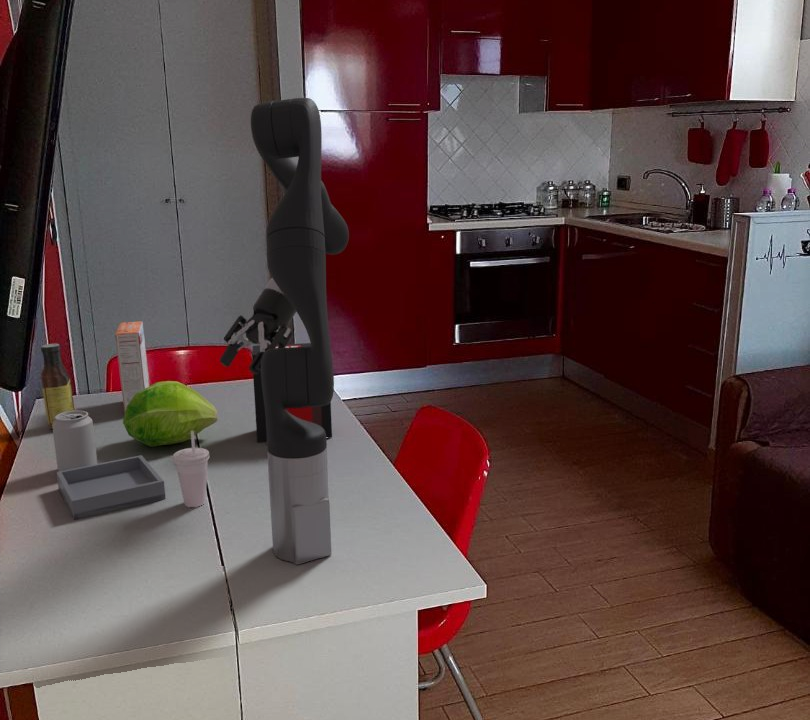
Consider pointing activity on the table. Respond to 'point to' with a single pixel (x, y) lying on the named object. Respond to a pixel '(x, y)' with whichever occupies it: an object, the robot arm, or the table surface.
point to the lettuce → (167, 414)
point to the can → (74, 440)
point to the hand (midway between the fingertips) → (237, 368)
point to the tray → (110, 486)
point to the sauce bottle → (55, 384)
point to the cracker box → (131, 359)
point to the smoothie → (192, 473)
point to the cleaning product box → (310, 414)
